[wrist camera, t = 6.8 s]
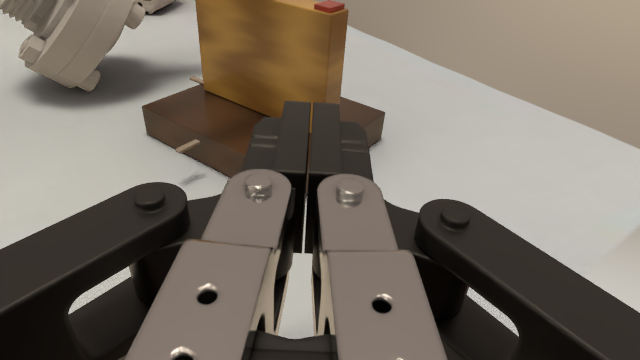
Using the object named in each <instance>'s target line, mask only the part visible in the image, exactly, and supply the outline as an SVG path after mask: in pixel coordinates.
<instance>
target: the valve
mask: <svg viewBox="0 0 640 360" xmlns="http://www.w3.org/2000/svg"><path fill="white" fill-rule="evenodd" d="M0 9H2V10H3V14H6V13H9V17H10V18H11V17H14V16H15V18H16V21H19V20H22V24H23V25H24V27H25V28H27V29H29V30H31V31H33V32H34V34H33V35H30V36H29V37H28V39H26V40H25V41H24V42H23V44H22V45H21V48H20V53H19V58H20V59H22V60H24V61H25V66H26V67H27V68H29V69H31V70H33V71H35V72H37V73H39V74H41V75H43V76H46V77H48V78H50V79H52V80H54V81H56V82H58V83H60V84H62V85H64V86H66V87H68V88H72V87H75V86H78V87H80V88H82V89H84V90H86V91H88V92H90V91H92V90H93V89H94V88H95V87H96V85H97V83H98V81H99V78H100V72H98V71H97V70H95V68H96V67H97V65H98V64H99V63H100V61H101V60H102V59H103V57H104V56H105V55H106V53H108V52H109V51H110V50H111V49H112V47H113V46H114V45H115V43H116V42H117V40H118V39H119V37H120V35H121V33H122V30H123V28H124V24H125V25H126V26H128V27H130V28H131V29H136V28H137V27H138V26H139V25H140V23H141V22H142V20H143V18H144V16H145V9H144V8H142V7H141V6H140V5H138V4H137V3H135V2H134V0H0Z"/></svg>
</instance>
